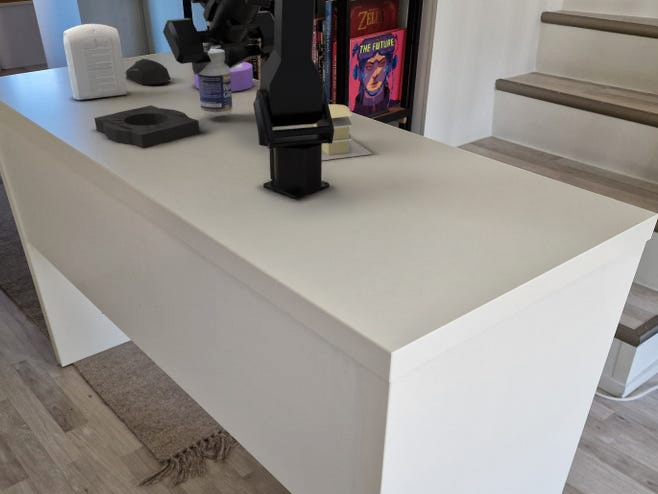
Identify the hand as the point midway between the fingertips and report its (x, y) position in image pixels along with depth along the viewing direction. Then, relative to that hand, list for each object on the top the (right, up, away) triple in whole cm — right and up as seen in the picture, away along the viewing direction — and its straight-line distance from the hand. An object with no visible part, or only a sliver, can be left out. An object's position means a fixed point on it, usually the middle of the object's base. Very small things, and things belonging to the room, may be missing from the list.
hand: (209, 69), depth 112 cm
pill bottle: (+1, -6, +3) cm, 7 cm away
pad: (-10, -11, -3) cm, 15 cm away
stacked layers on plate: (+20, -16, -9) cm, 27 cm away
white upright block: (-23, +1, +15) cm, 28 cm away
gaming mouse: (-18, +10, +27) cm, 34 cm away
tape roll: (-1, +7, +23) cm, 24 cm away
